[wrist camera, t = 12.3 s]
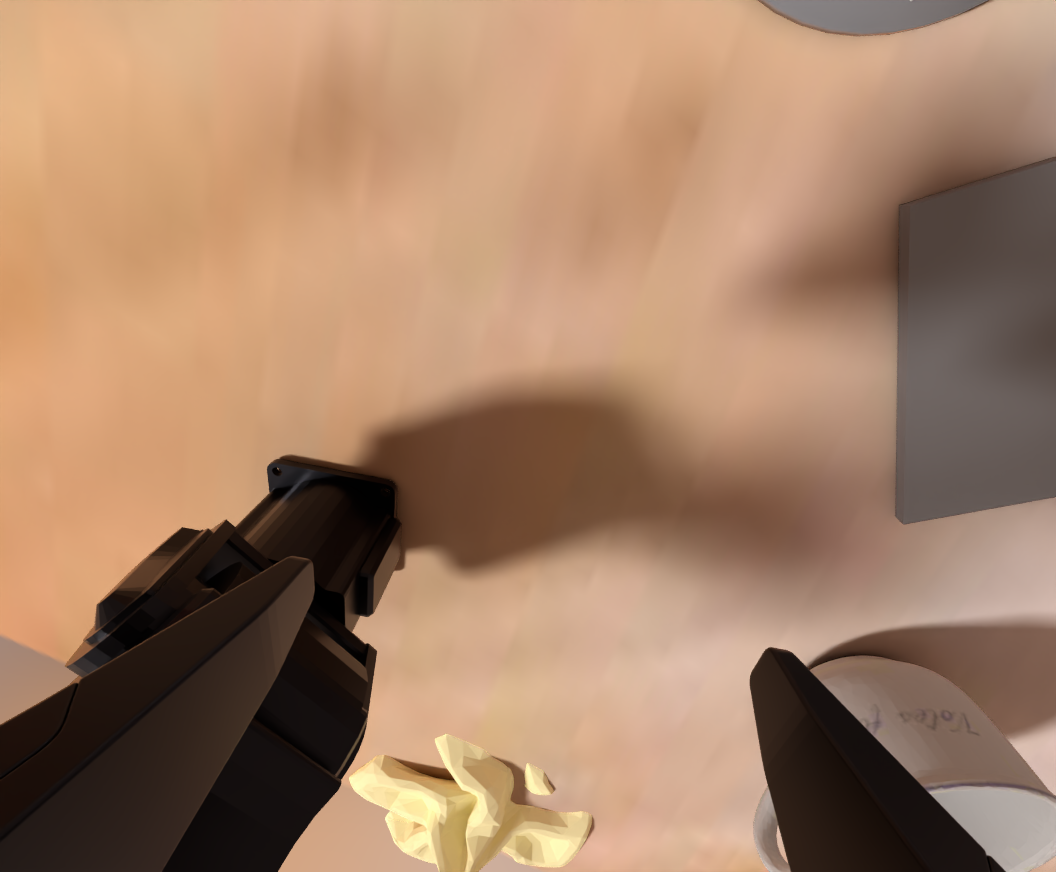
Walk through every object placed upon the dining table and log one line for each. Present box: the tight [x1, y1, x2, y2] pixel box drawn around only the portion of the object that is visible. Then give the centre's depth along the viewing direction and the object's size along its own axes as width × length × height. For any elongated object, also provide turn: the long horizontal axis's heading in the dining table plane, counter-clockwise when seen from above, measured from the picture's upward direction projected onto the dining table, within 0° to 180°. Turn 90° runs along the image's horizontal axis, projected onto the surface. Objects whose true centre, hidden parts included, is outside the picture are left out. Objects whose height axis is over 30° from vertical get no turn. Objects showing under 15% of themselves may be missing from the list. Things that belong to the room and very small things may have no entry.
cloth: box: [350, 733, 592, 872], centre depth 35 cm, size 22×19×6 cm
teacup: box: [753, 655, 1056, 872], centre depth 25 cm, size 14×11×8 cm
